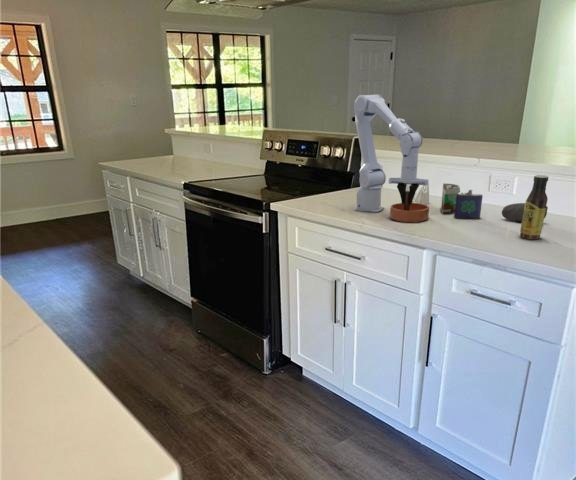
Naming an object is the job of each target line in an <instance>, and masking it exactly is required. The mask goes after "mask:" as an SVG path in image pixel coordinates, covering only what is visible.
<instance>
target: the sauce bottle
mask: <svg viewBox="0 0 576 480" xmlns="http://www.w3.org/2000/svg"><path fill="white" fill-rule="evenodd" d="M548 181H549V176H548V175H546V174H545V175H543V174H536V175H534V176H533V184H532V188H531V190H530V193H529V194H528V196H527V198H526V199H525V202H524V203H525V208H524V213H523V219H522V222H521V225H520V230H519V232H520V234H519V236H520V238H522V239H525V240H538V239H540V238H541V234H542V230H543V225H544V222H545V221H544V220H545V218H544V216H545V212H546V206H547V204H548V195H547V192H546V190H547V184H548Z"/></svg>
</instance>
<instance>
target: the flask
mask: <svg viewBox="0 0 576 480" xmlns="http://www.w3.org/2000/svg"><path fill="white" fill-rule="evenodd" d="M482 204H483V194H481V193H473V189H468V192H460V193H458V194H457V197H456V207H455V212H454V219H459V220H460V219H461V220H467V219H468V220H479V219H480V218H481V214H482V213H481V212H482Z"/></svg>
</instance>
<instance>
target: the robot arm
mask: <svg viewBox="0 0 576 480" xmlns="http://www.w3.org/2000/svg"><path fill="white" fill-rule="evenodd" d="M353 109H354V114H355V118H354V120H355V121H354V122H355V127H356V131H357V132H356V133H357V138H358V143H359V148H360V154H361V159H362V164H363V165H362V166H361V168H360V169H359V171H358V172H359V178H358V179H359V180H358V181H359V185H360V186H361V187H359V188H358V189H357V191H356V209H355V211H357V212H372V213H379V212H380V211H382V210H383V209H384V206H381V203H382V202H381V201H382V188H383V186H384V184H385V183H386V181H387V175H386V173H385V170H384V169H383V168H384V167H383V166H382V165H381V164H380V163H379V162H378V159H377V154H376V148H375V143H374V137H373V132H372V131H373V130H372V126H371V121H372V119H373V118H374V117H375V116H376V115H378V116H379V117H380V118H381V119H382V120H383V121H384V122H385V123H387V125H388V126H389V131H390V133H392V135H393V136H394V137H395V138H396V139H397V140H398V144H399V147H400V150H401V152H400V153H401V168H400V177H389V178H388V184H389V185H390V184H391V185H392V184H395V185H396V188H397V190H398V193H399V195H400V201H401V203H402V204H404V194H405V191H406V186H407V184H411V185H410V186H409V189H410V197H409V204H412V203H413V201H414V200H413V197H414V195H415V196H416V193H417V191H418V189H419V187H420V186H422V185H424V187H425V186H427V185H428V182H429V181H430V180H429V179H426V178H425V179H424V178H417V176H418V175H417V174H418V165H419V164H418V161H419V151H420V147H421V146H422V145H423V142H424V141H423V140H424V139H423V135H422V134H421V133H420V132H419V131H414V129H413V128H411V127H410V126H409V125H408V124H407V123H406V120H405V119H404V118H401V117H399V118H397V117H396V115H395V114H394V113H393V112H392V110H391V109H390V108H389V106H388V105H387V104H386V99H384V98H383V96H382V95H381V94H379V93H376V94H360V95H359V94H358V96H357V97H356V99H355V101H354V102H353Z"/></svg>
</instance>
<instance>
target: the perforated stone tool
mask: <svg viewBox="0 0 576 480" xmlns="http://www.w3.org/2000/svg"><path fill="white" fill-rule="evenodd" d="M525 203H526V202H518V203H517V202H516V203H511V204H507V205H506V206H504V207H503V208H502V210H501V215H502V217H503V218H504V219H506V220H507V221H514V222H518V223H522V219H523V213H524V208H525ZM548 209H549V208H548V206H547V205H546V212H545V216H544V219H545V218H547V214H548Z"/></svg>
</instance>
